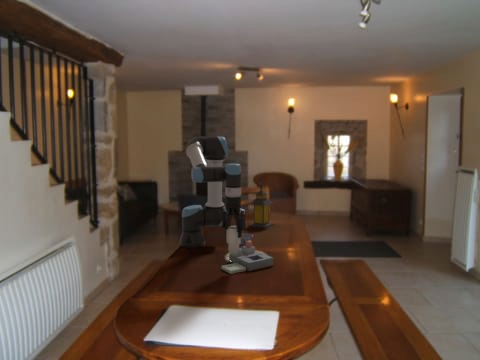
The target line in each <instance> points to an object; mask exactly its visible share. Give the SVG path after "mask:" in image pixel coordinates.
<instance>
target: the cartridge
mask: <svg viewBox="0 0 480 360" xmlns="http://www.w3.org/2000/svg"><path fill="white" fill-rule="evenodd" d="M236 231H237V227H236V225H230V226H229V228H228V243H227V244H228V254H230V253H238V252H239V244H238V245H236Z"/></svg>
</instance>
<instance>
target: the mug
mask: <svg viewBox="0 0 480 360" xmlns="http://www.w3.org/2000/svg"><path fill="white" fill-rule="evenodd" d="M253 238H254V235H253V234H252V233H242V237H241V244H239V248H241V249H242V251H243V246H246V241H252V242H253Z"/></svg>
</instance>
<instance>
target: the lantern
mask: <svg viewBox="0 0 480 360" xmlns="http://www.w3.org/2000/svg"><path fill="white" fill-rule="evenodd" d="M259 188H260V190H259V191H258V192H257V193H255V197H256V198H255V199H253V200H252V201H251V202H250V203H249V205H253V222H251V223H248V227H255V228H259V229H260V228H261V229H267V228H269V227H272V226H274V223H273V222H270V221H269V219H270V214H269V213H270V212H269V211H270V207H269V206H270V205H272V204H274V202H273V201H271V200H270V199H268V197H267V196H268V194H267V193H266V192H265V191H264V190H263V188H264V184H263V183H261V184H260V183H259Z"/></svg>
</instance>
